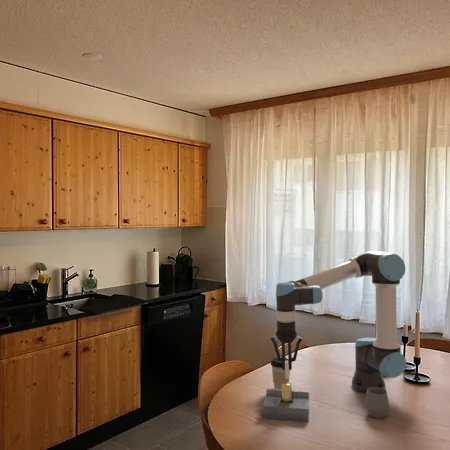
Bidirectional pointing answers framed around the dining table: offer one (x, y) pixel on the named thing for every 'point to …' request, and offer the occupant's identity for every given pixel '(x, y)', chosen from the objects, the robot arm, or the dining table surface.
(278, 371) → the coffee cup
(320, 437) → the dining table surface
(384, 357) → the robot arm
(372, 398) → the cup
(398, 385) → the dining table surface
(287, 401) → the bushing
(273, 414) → the block
